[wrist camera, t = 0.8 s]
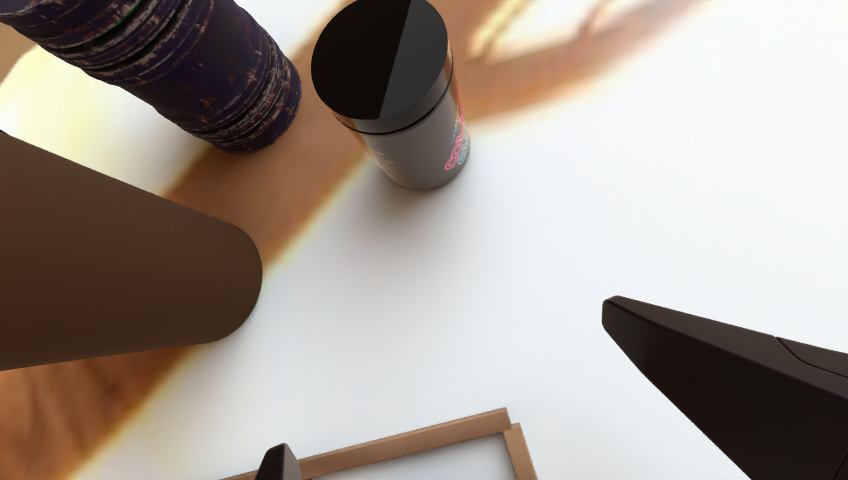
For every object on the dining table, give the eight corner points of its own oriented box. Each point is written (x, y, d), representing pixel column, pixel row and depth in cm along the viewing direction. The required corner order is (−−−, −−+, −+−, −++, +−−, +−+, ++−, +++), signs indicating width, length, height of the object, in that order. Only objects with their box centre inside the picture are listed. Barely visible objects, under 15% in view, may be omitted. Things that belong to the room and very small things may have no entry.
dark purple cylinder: (186, 94, 34) (-53, -71, 19) (273, 29, 33) (91, -193, 19) (226, 178, 31) (-21, 58, 16) (322, 109, 30) (151, -80, 16)
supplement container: (451, 206, 26) (414, 136, 16) (367, 178, 28) (288, 101, 18) (485, 120, 27) (470, 2, 17) (402, 98, 29) (343, -19, 19)
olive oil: (291, 308, 27) (-1331, 241, 3) (174, 377, 28) (-1721, 711, 4) (243, 190, 30) (-781, -295, 6) (140, 256, 31) (-1082, 55, 7)
